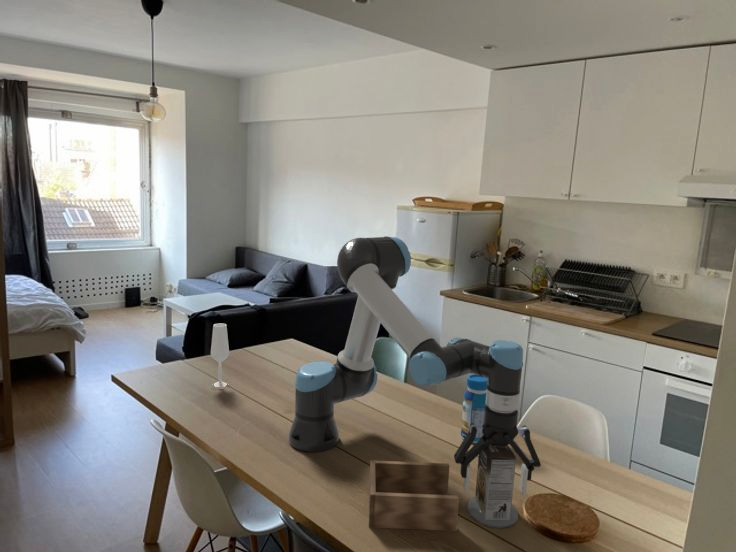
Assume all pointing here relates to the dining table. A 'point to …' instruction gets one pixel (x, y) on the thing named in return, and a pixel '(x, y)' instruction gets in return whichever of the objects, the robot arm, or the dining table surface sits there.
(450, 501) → the walnut u-shaped stand
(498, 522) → the slate coaster
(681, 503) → the dining table surface
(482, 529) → the dining table surface
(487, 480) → the coffee box
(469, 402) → the beverage bottle
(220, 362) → the champagne flute
